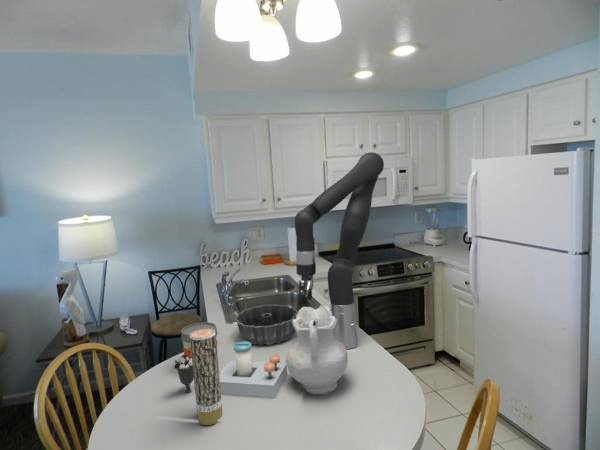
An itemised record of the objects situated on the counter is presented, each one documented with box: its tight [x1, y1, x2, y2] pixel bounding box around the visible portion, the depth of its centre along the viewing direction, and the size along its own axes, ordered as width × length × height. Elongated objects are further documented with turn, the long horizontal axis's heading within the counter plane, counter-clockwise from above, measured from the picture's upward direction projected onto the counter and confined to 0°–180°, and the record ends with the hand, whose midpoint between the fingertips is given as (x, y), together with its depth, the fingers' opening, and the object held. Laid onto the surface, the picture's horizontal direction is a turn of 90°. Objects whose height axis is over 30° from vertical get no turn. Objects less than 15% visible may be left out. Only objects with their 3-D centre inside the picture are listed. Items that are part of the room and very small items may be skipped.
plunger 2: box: [269, 354, 281, 370], centre depth 126 cm, size 3×3×4 cm
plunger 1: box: [264, 361, 275, 378], centre depth 121 cm, size 3×3×4 cm
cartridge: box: [233, 340, 253, 377], centre depth 126 cm, size 6×6×14 cm
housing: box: [219, 360, 288, 399], centre depth 126 cm, size 20×14×5 cm
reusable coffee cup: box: [180, 321, 218, 355], centre depth 140 cm, size 13×13×15 cm
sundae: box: [173, 348, 194, 394], centre depth 123 cm, size 7×7×15 cm
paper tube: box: [190, 329, 223, 426], centre depth 109 cm, size 7×7×25 cm
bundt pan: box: [234, 303, 299, 346], centre depth 166 cm, size 26×26×10 cm
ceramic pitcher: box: [285, 304, 349, 395], centre depth 123 cm, size 22×20×25 cm
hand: (306, 302), depth 153 cm, fingers open, 8 cm apart
